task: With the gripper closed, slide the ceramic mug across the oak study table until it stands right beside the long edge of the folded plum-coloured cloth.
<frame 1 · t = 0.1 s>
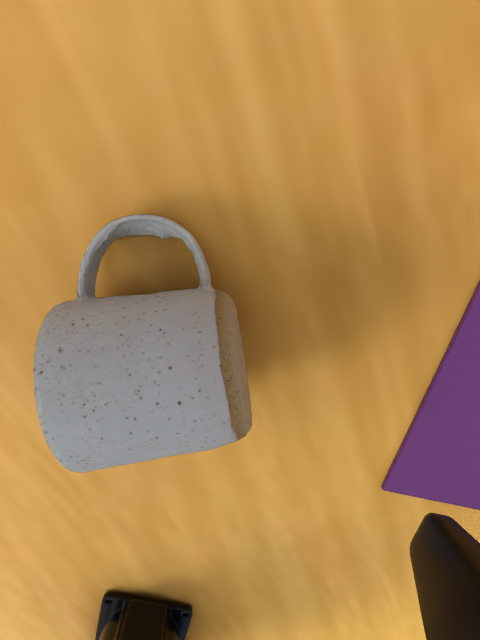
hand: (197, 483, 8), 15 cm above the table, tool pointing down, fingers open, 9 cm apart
ceramic mug: (159, 315, 23), on the table
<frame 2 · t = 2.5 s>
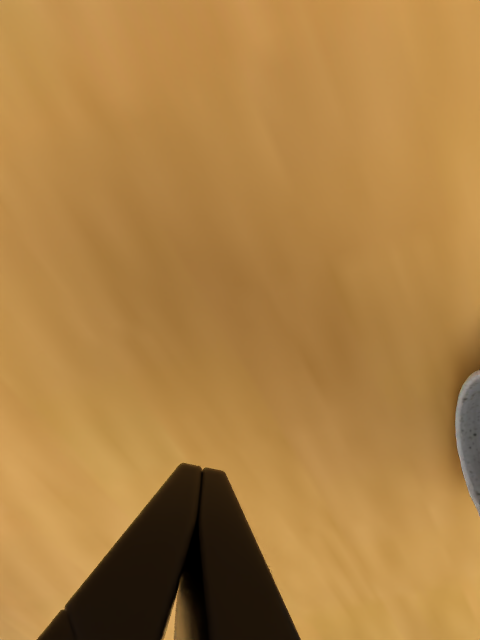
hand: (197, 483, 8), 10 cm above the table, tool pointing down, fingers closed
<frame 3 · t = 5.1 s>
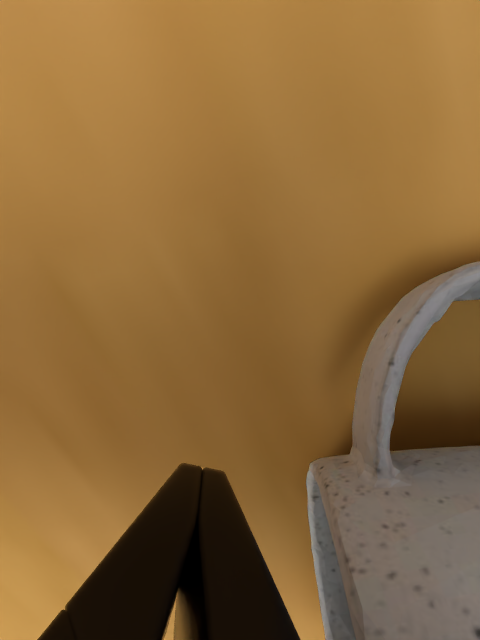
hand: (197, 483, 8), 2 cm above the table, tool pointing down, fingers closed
ceramic mug: (446, 452, 11), on the table, touching gripper
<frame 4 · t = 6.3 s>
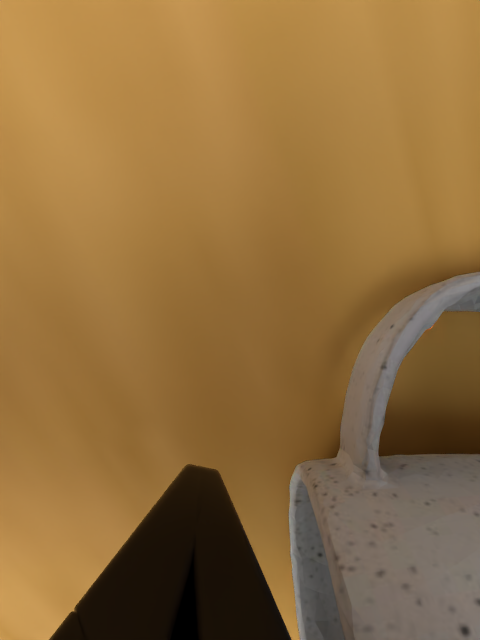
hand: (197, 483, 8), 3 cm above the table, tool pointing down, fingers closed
ceramic mug: (426, 461, 11), on the table, touching gripper
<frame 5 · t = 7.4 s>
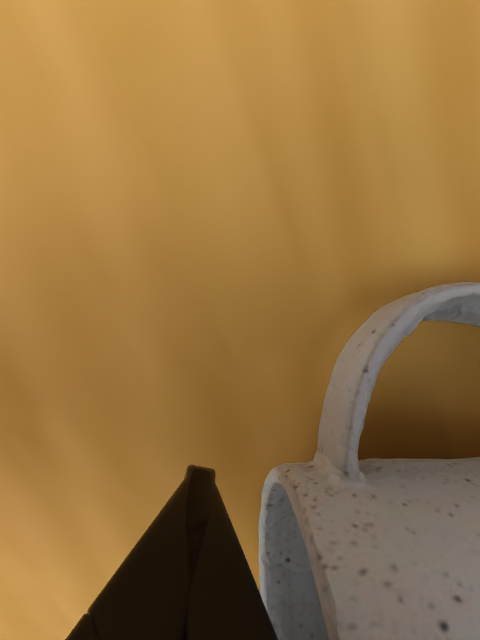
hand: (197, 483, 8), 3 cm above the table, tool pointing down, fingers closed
ceramic mug: (394, 467, 11), on the table, touching gripper
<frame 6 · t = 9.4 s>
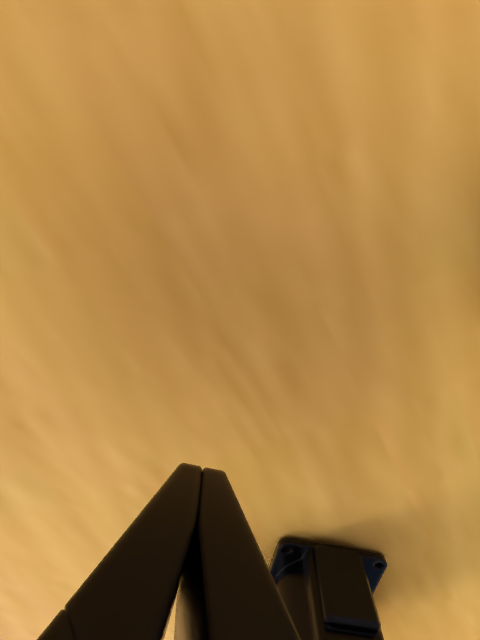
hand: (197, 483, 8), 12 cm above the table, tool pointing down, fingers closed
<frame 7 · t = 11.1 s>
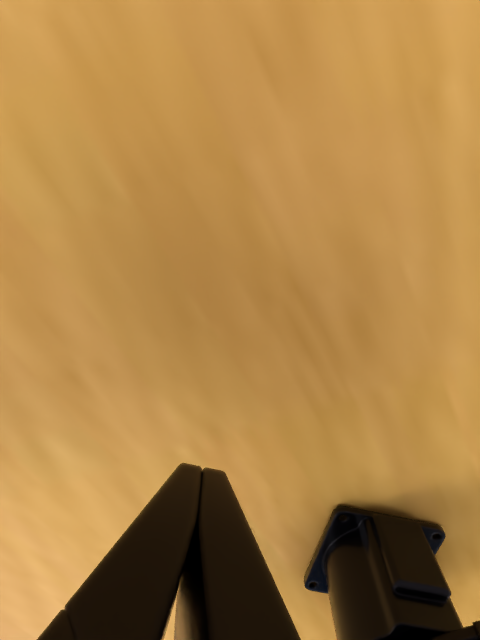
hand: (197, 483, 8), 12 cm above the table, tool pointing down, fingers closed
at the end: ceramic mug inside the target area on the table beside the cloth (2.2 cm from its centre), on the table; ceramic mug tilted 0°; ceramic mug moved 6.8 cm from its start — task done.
